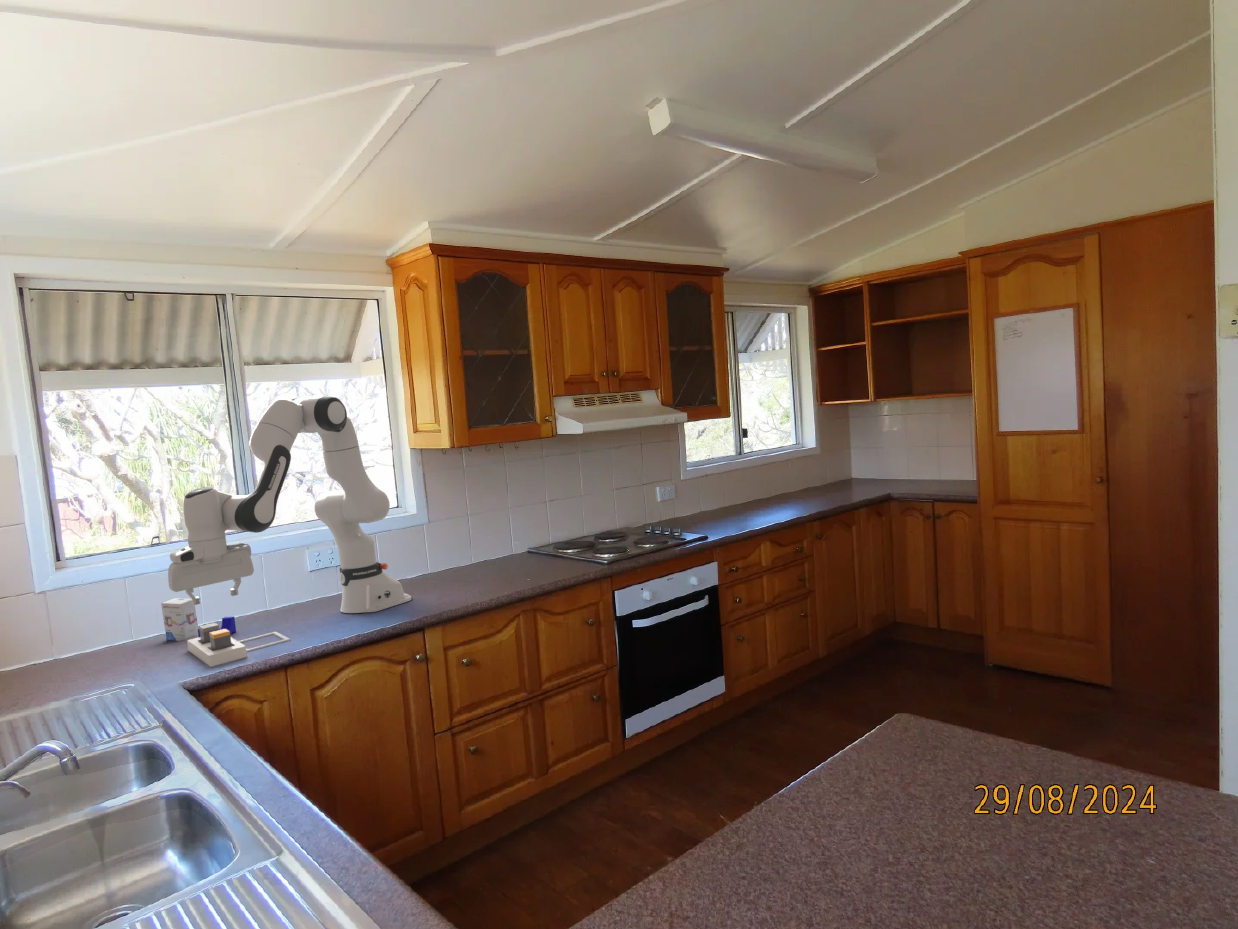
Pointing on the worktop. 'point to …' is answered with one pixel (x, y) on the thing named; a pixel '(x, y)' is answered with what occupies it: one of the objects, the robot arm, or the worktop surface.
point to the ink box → (179, 619)
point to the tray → (266, 644)
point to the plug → (220, 639)
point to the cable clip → (227, 625)
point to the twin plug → (207, 632)
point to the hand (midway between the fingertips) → (215, 599)
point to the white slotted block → (216, 652)
